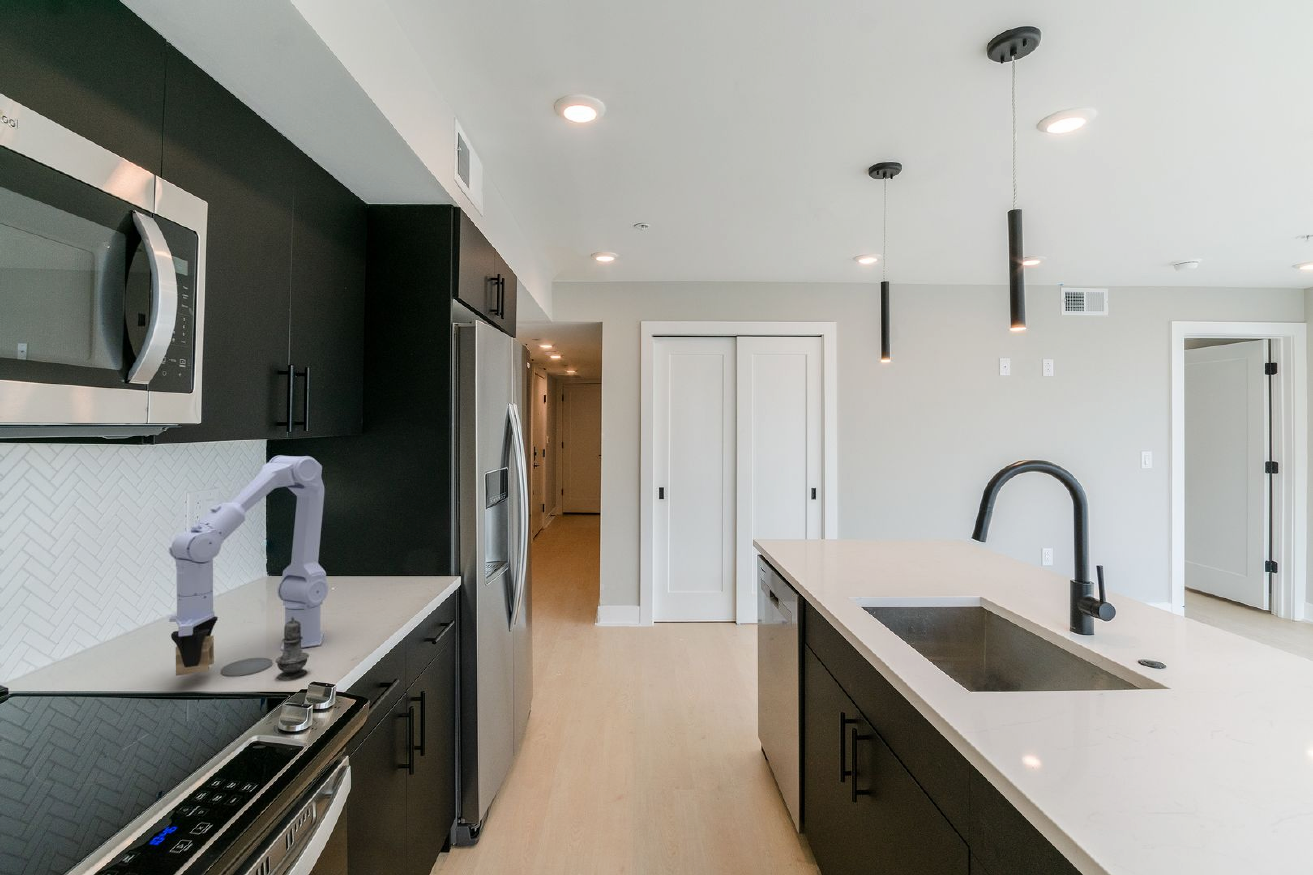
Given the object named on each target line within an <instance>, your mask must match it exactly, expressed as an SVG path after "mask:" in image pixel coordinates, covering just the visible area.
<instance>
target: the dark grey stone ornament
mask: <svg viewBox="0 0 1313 875" xmlns="http://www.w3.org/2000/svg"><path fill="white" fill-rule="evenodd" d="M294 619H295V618H294V617H292V618H291V621H289V622H287V623H286V624H285V623H284V628H283V629H284V630H283V632H284V635H283V636H284V638H283V639H282V641H281V642H282V643H283V642H284V650H283V652H282V655H280V656H278V657H277V658H275V663H277V667H278V670H280V671H281V673H280V674H278V675H277V677H276V679H277V680H279V681H294V680H297V679H298V680H299V679H302V678H303V677H306V676H307V674H308V670H306V669H303V668H304V667H305V666H306V665H307V662H308V658H309V657H310V655H309V653H308V652H304V651H303V649H302V648H301V640H302V639H303V637H301V624H300V622H298V621H295V620H294Z"/></svg>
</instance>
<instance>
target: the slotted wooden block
mask: <svg viewBox="0 0 1313 875" xmlns="http://www.w3.org/2000/svg"><path fill="white" fill-rule="evenodd" d="M214 643H215V640H214V635H211V636H206V637H205V639H204V642H203V646H202V651H201V658H200V662H199V665H198V666H192V667H185V666H184V664H183V661H182V657H181V654H180V651H179V649H178V647H177V646H175V676H176V677H179V676H187V675H192V674H200V673H205V672H209V670H210V665H214V663H215V657H214V656H215V655H214V654H215V646H214V645H215V644H214Z"/></svg>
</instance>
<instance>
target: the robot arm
mask: <svg viewBox="0 0 1313 875" xmlns="http://www.w3.org/2000/svg"><path fill="white" fill-rule="evenodd" d="M322 471H323V466H322V464H320V462H318V461H317V460H316V459H315V458H314V457H312V456H309V455H305V456H303V455H302V456H293V455H292V456H291V455H290V456H289V455H283V454H282V455H281V454H280V455H276V456H273V457H272V458H271V459H270V460H269V461H268V462H266V463H265V464H263V466H262V467H261V471H260V472H259V473H258V474H257V476H255V477H254V479H253V480H251V481H250V482H249V483H248V484H247V485H246V486H245V487H244V488H243V489H242V490H241V491H240V492H239V493H238V494H237V495H236V496H235V497H234V498H233V499H232V500H231V502H222V503H220V504H218V505H217V504H214V505H213V506H212V507H211V508H210V512H209V513H208V514H207V515H206V516H205V517H204V518H201V520H200V521H199V522H198V523H194V524H193V525H192V526H191V529H190V531H189V530H188V531H185V532H181V533H180V534H179V535H177V536H176V537H175V539H174V540H173V541H172V543H171V546H170V547H168V553H169V555H170V557H172V558H173V559H174V560H175V568H176V614H175V615H171V616H170V617H169V618H168V620H169V622H170V623H173V622H175V623H176V624H177V626H178V630H174V631H172V633H171V634H170V637H171V641H173V642H174V644H175V645H176V647H178V649H179V651H180V654H181V657H182V661H183V664H184V666H185V667H192V666H198V665H199V662H200V658H201V651H202V646H203V642H204V639H205V637H206V636H212V632H213V629H214V627H215V625H216V623H217V621H218V616H215V611H214V558H216V557H217V556H218V555H219V554H220V551H221V547H222V544H223V543H224V541H225V540H226V539H227V538H228V537H230V535H232V534H233V533H234V531H236V530H237V529H238V528H239V527H240V526H241V525H242V524H243V523H244V522H245V521H246V512H247V511H249V510H251V508H253V507H254V506H255V505H256V504H258V503H259V502H260V501H261V500H262V499H264V498H265V497H267V495H269V493H271V492H272V491H274V489H277V488H283V487H285V488H287V489H289V490H290V491H291V492H292V493H293V495H295V496H296V506H295V507H296V508H295V518H294V528H293V539H292V549H291V562H290V564H289V565H287V567H286V568H284V569H283V571H282V577H281V579H280V582H279V583H278V586H277V592H276V593H277V597H278V598H279V599H280V600H281V601H282V602H283V603H282V605H283V606H284V625H285V624H286V623H287V622H289V621H291V618H292V617H294V618H295V619H294V620H295V621H298V622H300V624H301V637H303V639H302V640H301V649H302V648H308V647H309V648H311V647H315V646H316V647H317V646H321V645H322V642H323V638H324V634H325V632H324V630H323V631H322V630H321V613H322V612H321V611H322V610H321V606H322V605H323V602H324V601H325V600H326V597H327V596H328V593H329V584H328V582H327V572H326V571H325V569H324V568H323V567H322V565H320V563H319V557H320V545H321V532H322V522H323V514H324V513H323V512H324V500H325V485H324V481H323V479H322V474H323V473H322ZM280 650H281V651H284V642H282V644H281V647H280Z"/></svg>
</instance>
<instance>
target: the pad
mask: <svg viewBox="0 0 1313 875" xmlns="http://www.w3.org/2000/svg"><path fill="white" fill-rule="evenodd" d="M273 664H274V662H273V659H271V658H268V657H252V658H251V657H250V658H246V659H241V660H237V661H233V662H230V663H228V664H226V665H225V666H224V665H223V667H222V668H221V669H220V674H221V675H222V676H225V677H242V676H244V677H245V676H249V675H253V674H256V673H257V674H258V673H260V672H264V671H265V670H268V669H270V668H271V667H272V665H273Z"/></svg>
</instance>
